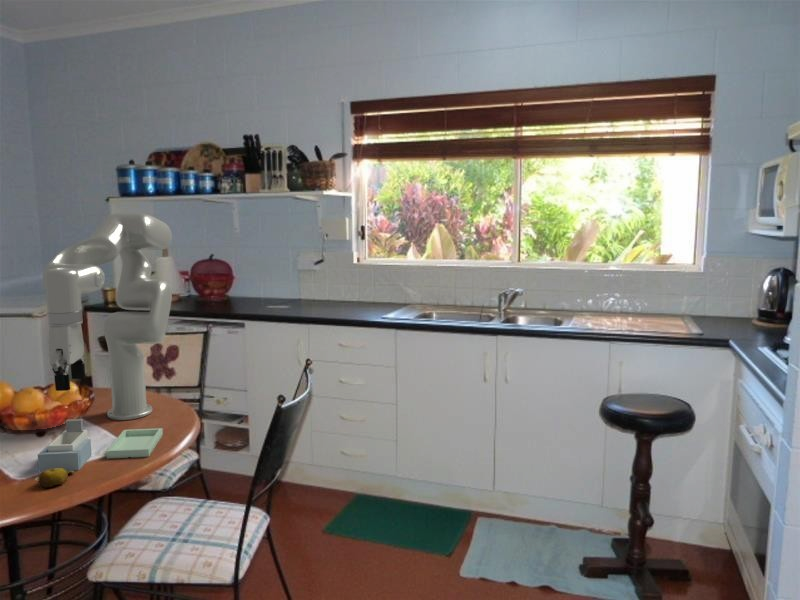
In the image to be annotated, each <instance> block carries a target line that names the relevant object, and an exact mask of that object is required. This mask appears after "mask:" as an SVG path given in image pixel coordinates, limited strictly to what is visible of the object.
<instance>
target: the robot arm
mask: <svg viewBox="0 0 800 600" xmlns="http://www.w3.org/2000/svg"><path fill="white" fill-rule="evenodd" d="M172 239H173V234H172V230H171V228H170V226H169V225H168V224H167V223H165V222H164V221H162V220H160V219H159V218H156V217H154V216H153V215H150V214H147V213H141V212H138V213H136V212H135V213H133V212H132V213H130V212H128V213H127V212H126V213H123V212H118V213H117V212H116V213H111V214H109V215H107V217H105V218H104V220H103V221H102V222H101V223H100V224H99V226H98V227H97V228H96V229H95V230H94V232H93V233H91V236H90V237H89V238H86V239H84V240H82V241H79V242H77V243H75V244H73V245H70V246H68V247H66V248H64V249H61V250H60V251H59V252H58V253H56V255H54V256H53V258H52V259H50V260H49V262H48V263H47V265H46V266H45V268H44V271H43V273H42V283H43V286H44V288H45V297H46V298H45V300H46V312H47V320H48V321H47V323H48V326H49V332H48V356H49V358H48V359H49V360H48V361H49V365H50V366H51V367H52V368H51V370H52V372H53V376H54V387H55V391H57V392H60V391H61V392H63V391H64V392H65V391H67V392H68V391H70V390H71V383H70V382H71V380H70V375H71V379H73V380H83V379H85V378H86V368H85V366H86V365H85V361H86V360H85V357H84V356H85V342H84V336H83V329H82V324H83V321H84V319H83V309H82V308H83V306H82V295H83V294H94V293H96V292H98V291H100V290H101V289H102V288H103V287H104V286H105V283H106V276H105V273H104V270H103V269H102V268H100V266H102V265H104V264H106V263H107V264H108V263H110V262H113V261H114V260H115V259H116V258H117V257H118V256H120V258H121V263H122V265H121V272H120V277H119V281H118V286H117V290H116V295H115V296H116V297H115V300H116V304H117V306H118V307H119V308H121V309H123V310H128V311H116V312H112V313H109V315H107V316H106V317H105V319H104V321H103V324H102V329H103V333H104V334H103V335H104V337H105V342H106V345H107V351H108V358H109V374H110V389H111V401H112V405H111V406H112V407H111V408H110V409H108V411H107V417H108V418H109V419H111V420H115V421H117V420H118V421H127V420H128V421H129V420H135V419H140V418H143V417H145V416H148V415H150V414H151V413H152V412H153V407H152V405H150V404H148V403H147V391H146V390H147V389H146V376H145V375H146V373H145V357H144V354H143V352H142V350H141V348H140V347H139V346H138V345H141V344H144V345H155V344H159V343H161V342H162V341H163V340H164V339H165V336H166V333H167V328H168V322H169V317H170V313H171V307H172V301H173V300H172V299H173V297H172V296H173V293H172V287H171V286H170V284H169V283H168V282H167V281H165V280H163V279H151V276H152V269H153V267H152V263H150V261H149V259H148V258H147V256H145V254H144V253H143V252H142V251H143V250H144V251H150V250H151V251H162V250H166V249H168V248H169V247H170V246H171V244H172ZM69 366H70V367H69ZM69 368H70V373H71V374H69V372H68V371H69Z"/></svg>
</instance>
